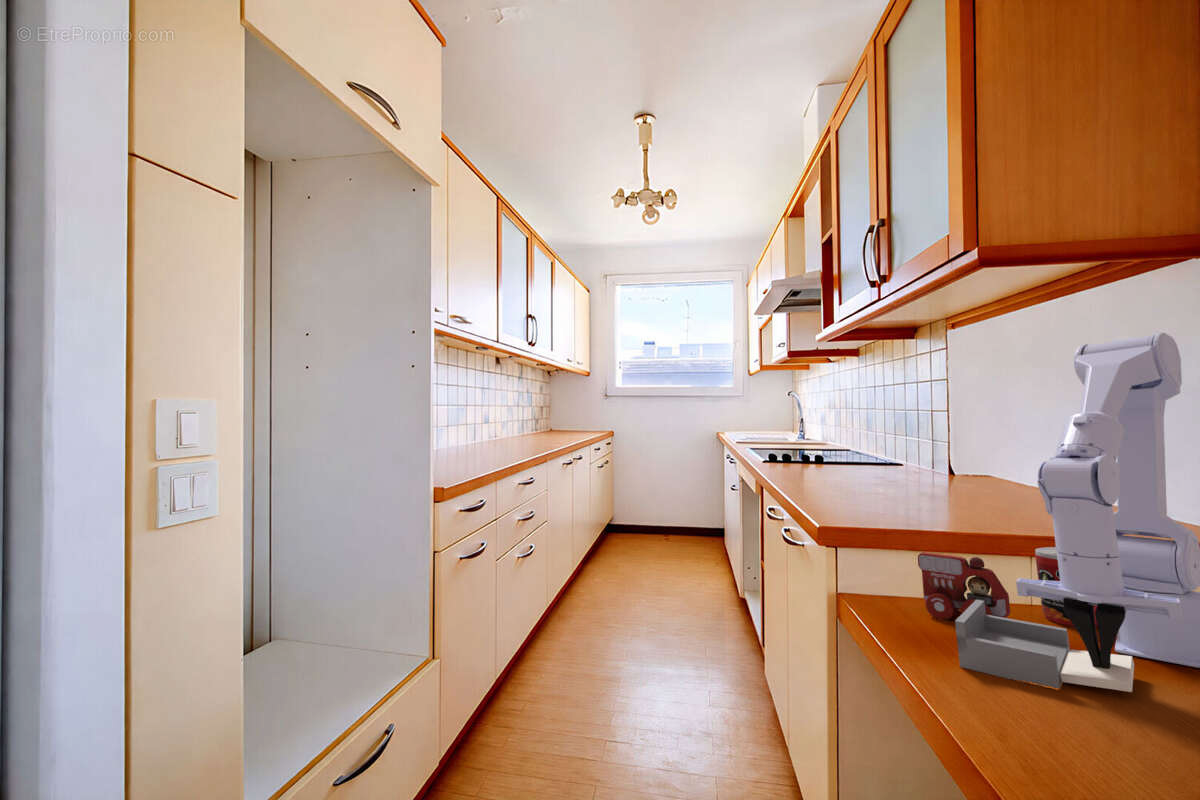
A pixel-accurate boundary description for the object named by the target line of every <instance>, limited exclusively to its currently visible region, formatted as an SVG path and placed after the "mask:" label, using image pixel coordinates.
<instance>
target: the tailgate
mask: <svg viewBox="0 0 1200 800" xmlns="http://www.w3.org/2000/svg"><path fill="white" fill-rule="evenodd" d="M1134 674H1135V663H1134V659H1133V655H1126V654H1115V653H1111V665H1110V669H1105V668H1102V667H1101V668H1097V667H1093V665H1092V661H1091V658H1090V655H1089V653H1088V650H1078V649H1068V652H1067V655H1066V657H1065V660H1064V663H1063V665H1062V668H1061V671H1060V677H1061V680H1062V682H1063V683H1067V684H1074V685H1081V686H1088V687H1095V688H1101V689H1109V690H1114V691H1115V690H1117V691H1122V692H1128V693H1133V688H1134V687H1133V684H1134Z"/></svg>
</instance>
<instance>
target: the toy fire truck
mask: <svg viewBox="0 0 1200 800" xmlns="http://www.w3.org/2000/svg"><path fill="white" fill-rule="evenodd" d="M917 566H918V568H919V569H920V570H921V577H922V579H921V581H922V590H923V592H922V593H923V600H924V601H925V608H926V610H927V612H928V613H929V615H931V616H932V617H934V618H935V619H938V620H942V619H945V620H948V619H950V618H952V617H953V616H954V614H955V613H956V612H958V611H960V615H961V614H962V613H963V612H964V611H965V610H966V609H967V608H968V607H969V606H970V605H971V604H972V603H973V602H974V601H975V600H982V601H984V603H985V612H986V615H991V616H997V617H1003V618H1008V617H1010V614H1011V605H1010V596H1009V593H1008V592H1007V590H1006V589H1005V587H1004V586H1003V583H1002V582H1001V581H1000V579H999V578H998V576H997V575H996V573H995V572H994V571H993V569H990V568H987V567H986V568H985V566H986V565H985V562H984V560H983V559H982V558H980V557H979V556H974V557H973V556H972V557H971V558H970V559H969V561H968V560H967V559H966V558H965V557H963V556H958V555H957V556H956V555H949V554H941V553H940V554H939V553H933V552H926V551H925V552H920V553H919V554H918V556H917ZM967 579H968V580H967ZM968 589H969V591H970V592H967V591H968ZM966 592H967V593H966ZM989 592H990V594H989ZM965 593H966V596H965ZM955 611H956V612H955Z"/></svg>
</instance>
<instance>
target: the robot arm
mask: <svg viewBox="0 0 1200 800" xmlns="http://www.w3.org/2000/svg"><path fill="white" fill-rule="evenodd" d="M1181 360H1182V358H1181V354H1180V352H1179V347H1178V345H1177V342H1176V340H1175V339H1174V337H1172V336H1171V335H1169V334H1168V333H1166V332H1159V333H1156V334H1154V335H1153V334H1152V335H1146V336H1145V335H1144V336H1140V337H1134V338H1133V337H1132V338H1126V339H1119V340H1113V341H1112V340H1111V341H1108V342H1101V343H1094V344H1088V343H1087V344H1086V343H1085V344H1081V345H1080V346H1078V348H1077V349H1076V351H1075V352H1074V354H1073V366H1074V371H1075V374H1076V376H1077V377H1078V379H1079V380H1080V382H1081V384H1082V385H1083V391H1082V396H1081V402H1080V407H1079V412H1078V413H1076V414H1073V415H1071V416H1070V417H1068V418H1067V420H1065V423H1064V427H1063V429H1062V432H1061V435H1060V438H1059V440H1058V444H1057V446H1056V448H1055V452H1054V455H1053V457H1050V458H1049V459H1047V461H1043V462H1042V463H1041V464H1040V465H1039V468H1038V470H1037V472H1038V473H1037V481H1036V483H1037V486H1038V490H1039V492H1040V495H1041V496H1042V498H1043V500H1044V505H1045V511H1046V513H1047V514H1048V515H1051V517H1052V518H1051V519H1052V526H1053V535H1054V541H1055V542H1054V543H1055V547H1056V550H1057V559H1058V567H1059V575H1060V581H1047V580H1038V579H1031V578H1021V577H1019V578H1017V579H1016V581H1015V583H1016V589H1017V591H1016V592H1017V596H1019V597H1024V598H1025V597H1026V598H1028V597H1034V598H1040V599H1041V598H1047V599H1054V600H1061V601H1064V607H1063V609H1064V612H1065V613H1066V615H1067V617H1068V618H1069V619H1070V621H1071V622H1072V623H1073V625H1074V626H1075V627H1074V628H1075V629H1076V631H1077V632H1078V635H1079V636H1080V638H1081V640H1082V641H1083V644H1084V646H1085V647H1086V651H1088V653H1089V655H1090V658H1091V661H1092V665H1093V667H1097V668H1101V667H1102V668H1105V669H1110V665H1111V654H1112V650H1113V645H1114V651H1115V652H1117V653H1119V654H1123V655H1128V656H1135V657H1140V658H1146V659H1151V660H1156V661H1162V662H1166V663H1172V664H1176V665H1177V664H1178V665H1183V666H1187V667H1193V668H1199V669H1200V591H1195V590H1197V589H1198V588H1200V539H1199V538H1198V536H1197V534H1195V532H1194V531H1193V530H1191V529H1190V528H1188V527H1187V526H1185V525H1183V524H1182V523H1180V522H1178V521H1177V520H1174V519H1173V518H1172V517H1170V516H1169V515H1168V511H1167V509H1168V508H1167V507H1168V506H1167V503H1168V502H1167V483H1166V481H1167V479H1166V446H1165V444H1166V443H1165V423H1164V422H1165V419H1164V418H1165V409H1166V403H1167V400H1170V399H1172V398H1174V397H1175V396H1178V395H1180V394H1181V386H1182V384H1183V381H1182V380H1183V379H1182V362H1181ZM1116 503H1117V510H1116V511H1115V512H1114V508H1113V507H1114V506H1113V505H1114V504H1116ZM1130 535H1132V536H1130ZM1153 537H1154V538H1153ZM1170 539H1171V540H1170ZM1172 539H1173V540H1172ZM1094 605H1095V606H1097V609H1096V611H1095V616H1094ZM1095 617H1096V622H1097V627H1098V629H1096V626H1095ZM1097 633H1098V636H1097ZM1098 637H1099V638H1098ZM1114 642H1115V644H1114Z"/></svg>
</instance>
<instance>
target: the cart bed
mask: <svg viewBox="0 0 1200 800" xmlns="http://www.w3.org/2000/svg"><path fill="white" fill-rule="evenodd" d="M954 625H955V633H956V641H957V642H956V643H957V650H958V660H959V667H960V668H963V669H967V670H971V671H975V672H980V673H983V674H988V675H991V676H995V677H999V678H1004V679H1008V680H1011V679H1013V681H1015V680H1020V681H1026V682H1032V683H1036V684H1039V685H1045V686H1050V687H1054V688H1058V689H1059V688H1060V686H1061V683H1062V680H1061V677H1060V671H1061V668H1062V665H1063V663H1064V660H1065V657H1066V655H1067V652H1068V649H1070V642H1069V634H1068V628H1065V627H1064V628H1063V627H1059V626H1053V625H1047V624H1043V623H1036V622H1030V621H1024V620H1018V619H1013V618H1008V617H1006V618H1003V617H997V616H991V615H986V612H985V603H984V601H982V600H975V601H974V602H973V603H972V604H971V605H970V606H969V607H968V608H967V609H966V610H965V611H964V612H963V613H962V614H961V613H960V616H958V617H957V618H956V619H955V620H954ZM1062 684H1063V683H1062ZM1061 687H1062V686H1061Z"/></svg>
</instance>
